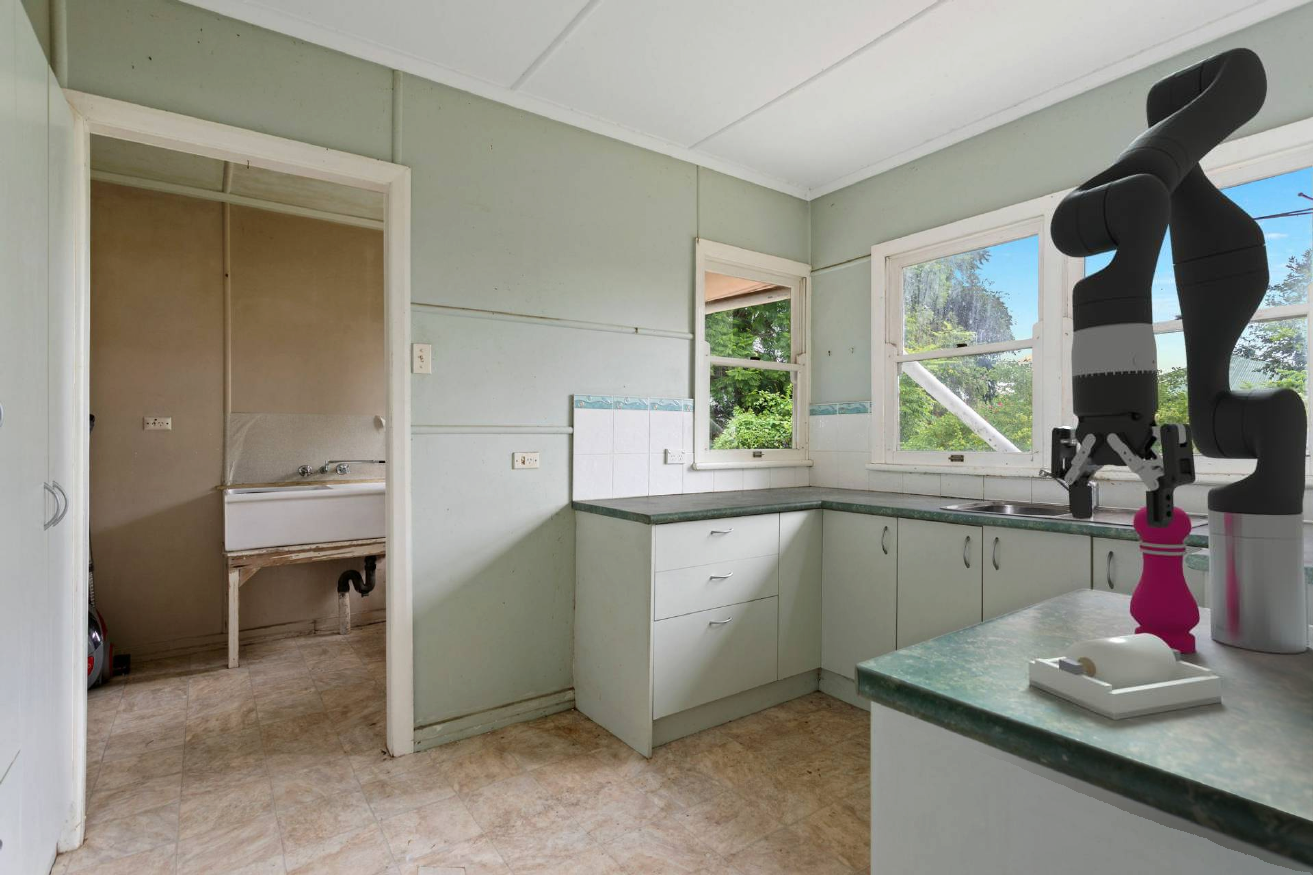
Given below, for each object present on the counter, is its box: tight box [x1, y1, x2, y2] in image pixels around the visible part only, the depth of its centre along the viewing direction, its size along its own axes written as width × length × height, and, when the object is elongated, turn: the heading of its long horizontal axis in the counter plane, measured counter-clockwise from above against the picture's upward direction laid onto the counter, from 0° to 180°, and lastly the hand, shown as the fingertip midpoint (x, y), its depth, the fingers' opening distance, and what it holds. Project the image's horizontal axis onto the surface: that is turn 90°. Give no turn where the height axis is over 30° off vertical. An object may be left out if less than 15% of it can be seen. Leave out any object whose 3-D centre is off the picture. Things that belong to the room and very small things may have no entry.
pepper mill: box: [1129, 505, 1201, 654], centre depth 85 cm, size 7×7×20 cm
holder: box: [1028, 648, 1222, 721], centre depth 70 cm, size 14×10×4 cm
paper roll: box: [1065, 633, 1176, 690], centre depth 70 cm, size 10×5×5 cm, turn 106°
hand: (1118, 522), depth 70 cm, fingers open, 8 cm apart
